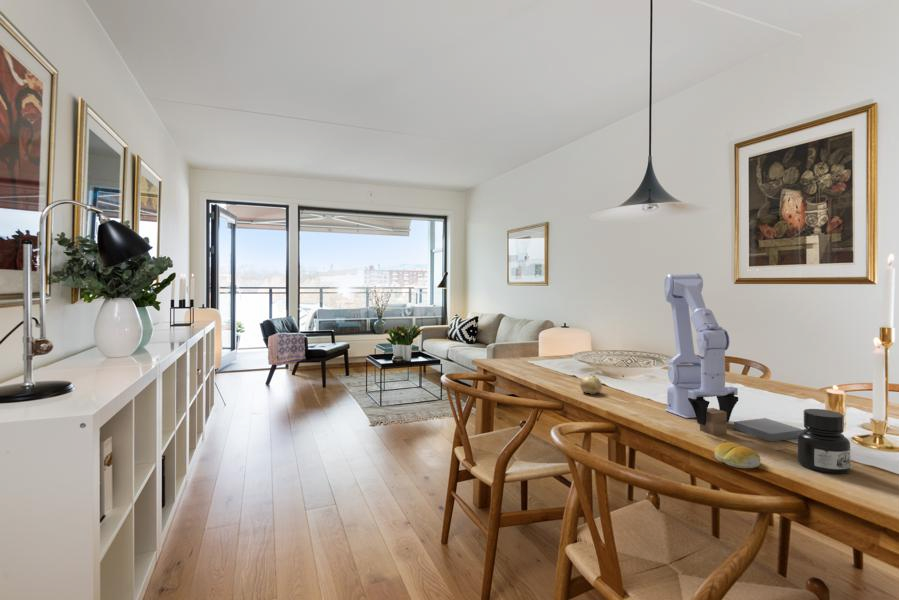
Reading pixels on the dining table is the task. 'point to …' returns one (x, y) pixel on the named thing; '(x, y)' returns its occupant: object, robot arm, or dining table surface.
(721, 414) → the walnut block
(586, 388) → the onion
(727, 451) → the bread roll
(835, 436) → the ink bottle
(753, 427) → the slate base
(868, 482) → the dining table surface
